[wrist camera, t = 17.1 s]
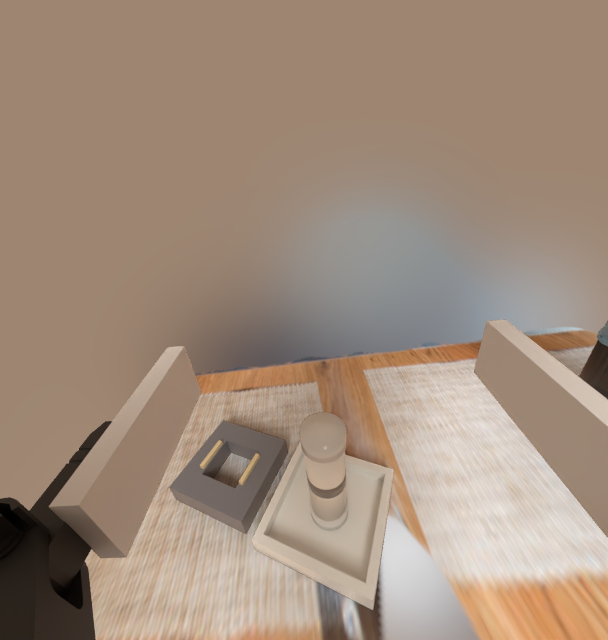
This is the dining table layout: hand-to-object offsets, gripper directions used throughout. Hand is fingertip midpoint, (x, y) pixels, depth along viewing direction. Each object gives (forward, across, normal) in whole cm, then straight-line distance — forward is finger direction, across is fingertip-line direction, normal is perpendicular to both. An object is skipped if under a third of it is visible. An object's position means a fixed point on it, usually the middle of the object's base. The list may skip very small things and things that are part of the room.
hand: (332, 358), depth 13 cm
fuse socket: (+15, -15, -32) cm, 38 cm away
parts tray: (+9, -1, -32) cm, 33 cm away
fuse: (+9, -1, -31) cm, 33 cm away
